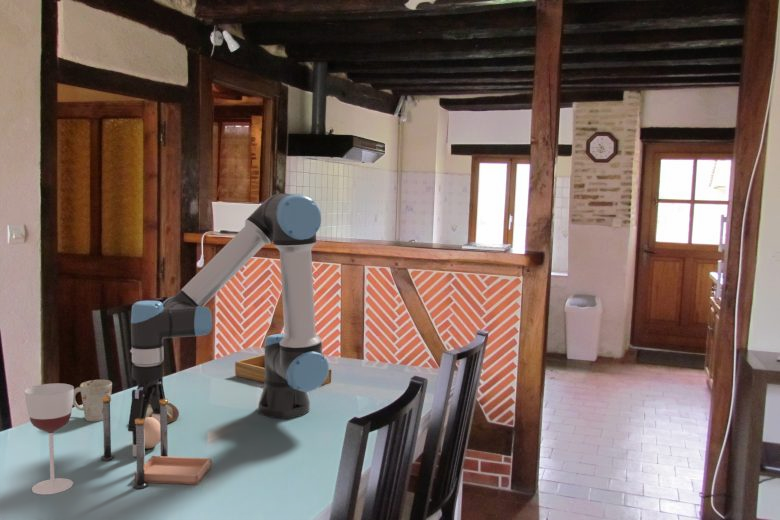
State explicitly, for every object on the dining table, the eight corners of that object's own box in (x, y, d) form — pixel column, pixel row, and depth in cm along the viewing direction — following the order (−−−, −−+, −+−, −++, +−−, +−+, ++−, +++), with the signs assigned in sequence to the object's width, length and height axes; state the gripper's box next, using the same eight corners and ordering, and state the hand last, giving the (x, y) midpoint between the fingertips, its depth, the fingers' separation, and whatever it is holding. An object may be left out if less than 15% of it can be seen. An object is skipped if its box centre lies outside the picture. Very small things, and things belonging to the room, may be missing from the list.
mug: (101, 424, 193) (100, 389, 192) (61, 420, 195) (59, 385, 194) (118, 414, 201) (118, 380, 200) (79, 410, 203) (79, 377, 202)
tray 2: (331, 383, 238) (331, 367, 238) (301, 394, 226) (301, 377, 225) (265, 368, 255) (265, 353, 255) (235, 377, 243) (235, 361, 242)
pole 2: (150, 483, 156) (149, 417, 155) (144, 489, 153) (143, 422, 152) (136, 482, 156) (135, 416, 155) (131, 488, 153) (130, 421, 152)
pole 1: (116, 456, 171) (115, 395, 169) (110, 461, 168) (109, 399, 166) (104, 456, 171) (103, 395, 169) (98, 460, 168) (97, 399, 166)
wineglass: (38, 478, 158) (35, 383, 155) (82, 477, 159) (79, 383, 156) (21, 495, 149) (17, 395, 147) (67, 494, 150) (64, 395, 147)
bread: (185, 418, 200) (185, 401, 199) (156, 430, 189) (156, 412, 189) (155, 412, 204) (155, 395, 204) (125, 423, 194) (125, 406, 194)
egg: (136, 454, 173) (136, 423, 172) (133, 445, 178) (132, 415, 178) (164, 450, 176) (164, 419, 175) (160, 441, 182) (159, 411, 181)
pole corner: (172, 459, 170) (171, 398, 168) (168, 463, 167) (167, 402, 166) (160, 458, 170) (159, 397, 169) (155, 463, 167) (154, 401, 166)
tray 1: (211, 466, 166) (211, 458, 166) (197, 484, 156) (197, 476, 156) (152, 463, 167) (152, 455, 167) (135, 482, 157) (134, 473, 157)
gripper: (151, 350, 187) (152, 429, 189) (111, 375, 163) (113, 464, 165) (178, 352, 186) (179, 431, 189) (143, 376, 163) (144, 466, 165)
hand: (148, 446), depth 177 cm, fingers open, 11 cm apart
